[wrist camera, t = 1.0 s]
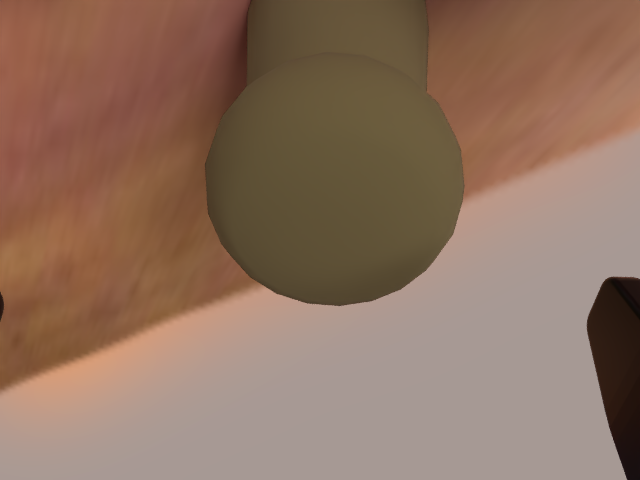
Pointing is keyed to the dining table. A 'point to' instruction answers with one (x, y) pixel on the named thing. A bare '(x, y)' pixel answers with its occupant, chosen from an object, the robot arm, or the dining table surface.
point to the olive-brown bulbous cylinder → (335, 152)
